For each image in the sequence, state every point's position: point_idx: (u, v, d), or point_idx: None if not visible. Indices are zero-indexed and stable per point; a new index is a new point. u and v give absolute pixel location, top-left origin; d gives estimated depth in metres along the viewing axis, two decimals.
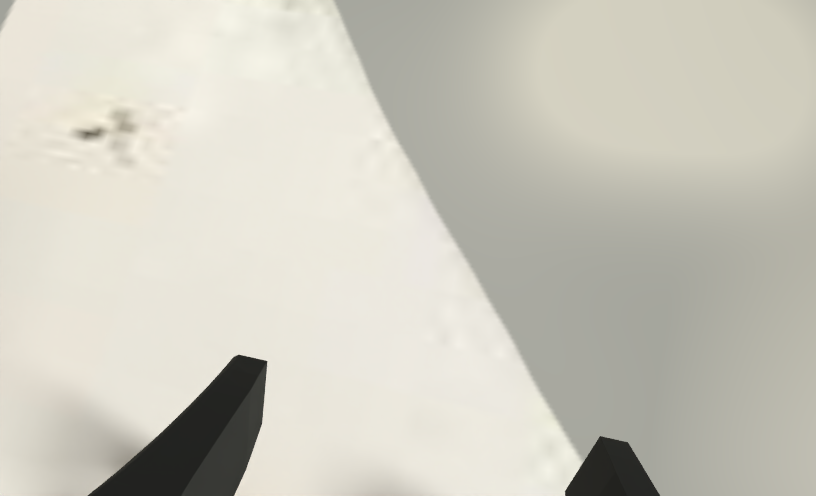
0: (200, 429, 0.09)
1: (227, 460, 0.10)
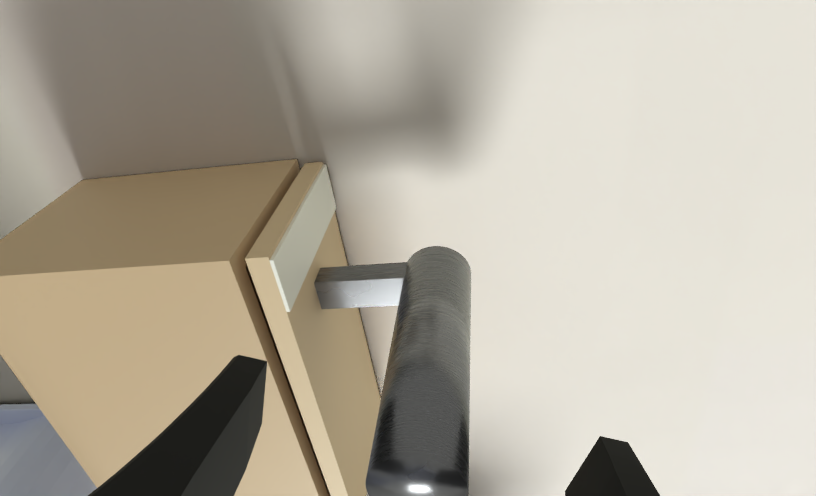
0: (200, 429, 0.09)
1: (227, 460, 0.10)
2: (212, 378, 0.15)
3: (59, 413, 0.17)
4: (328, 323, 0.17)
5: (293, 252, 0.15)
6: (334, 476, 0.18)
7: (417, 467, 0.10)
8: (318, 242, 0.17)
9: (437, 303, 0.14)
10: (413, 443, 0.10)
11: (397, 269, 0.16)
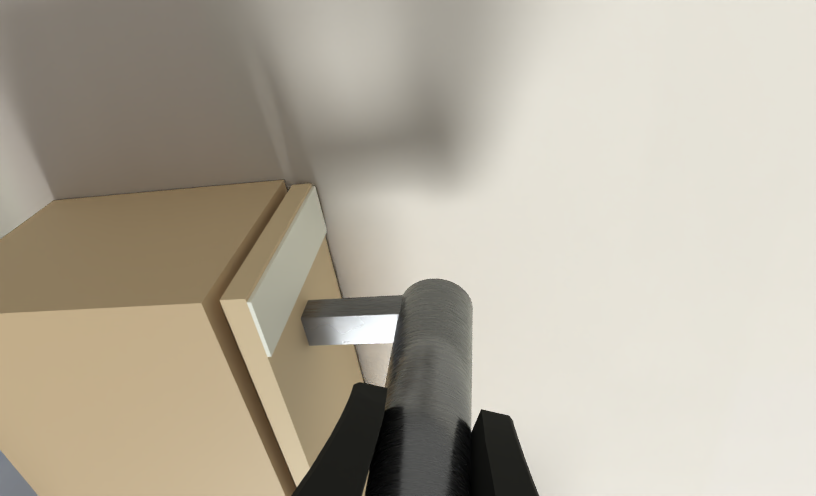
0: (348, 462, 0.09)
1: (362, 490, 0.10)
2: (187, 425, 0.14)
3: (24, 458, 0.16)
4: (317, 359, 0.16)
5: (275, 289, 0.13)
6: None
7: None
8: (305, 273, 0.15)
9: (435, 348, 0.12)
10: None
11: (391, 303, 0.15)
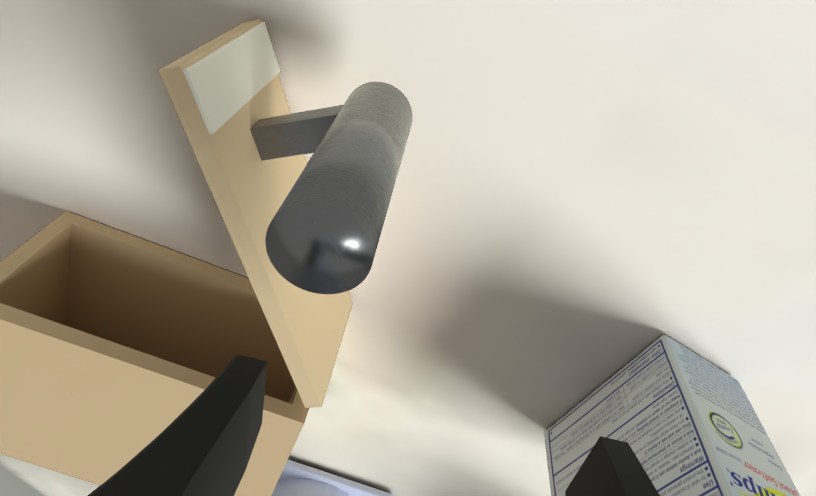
0: (200, 429, 0.09)
1: (227, 460, 0.10)
2: (68, 377, 0.19)
3: (96, 476, 0.22)
4: (272, 180, 0.17)
5: (217, 78, 0.14)
6: (286, 339, 0.17)
7: (313, 217, 0.10)
8: (254, 90, 0.16)
9: (362, 113, 0.13)
10: (309, 195, 0.10)
11: (334, 109, 0.16)
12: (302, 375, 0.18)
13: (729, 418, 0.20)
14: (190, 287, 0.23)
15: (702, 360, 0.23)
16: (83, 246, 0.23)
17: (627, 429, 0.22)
